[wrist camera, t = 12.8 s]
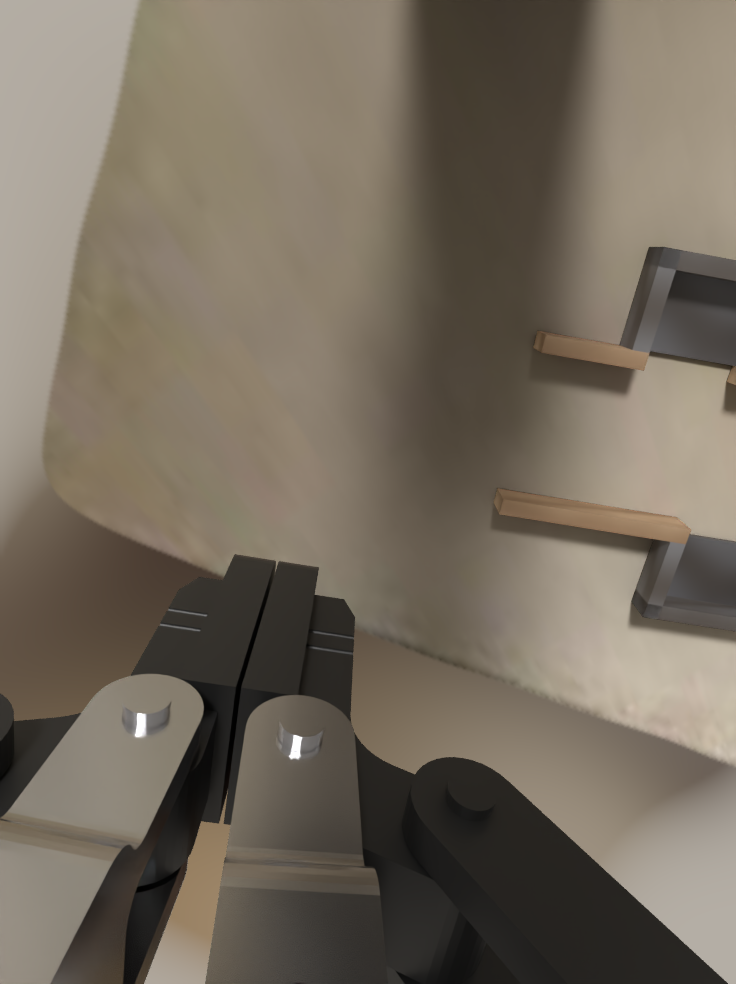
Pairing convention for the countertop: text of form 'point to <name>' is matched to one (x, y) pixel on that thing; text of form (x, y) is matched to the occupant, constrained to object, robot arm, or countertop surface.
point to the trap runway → (650, 327)
